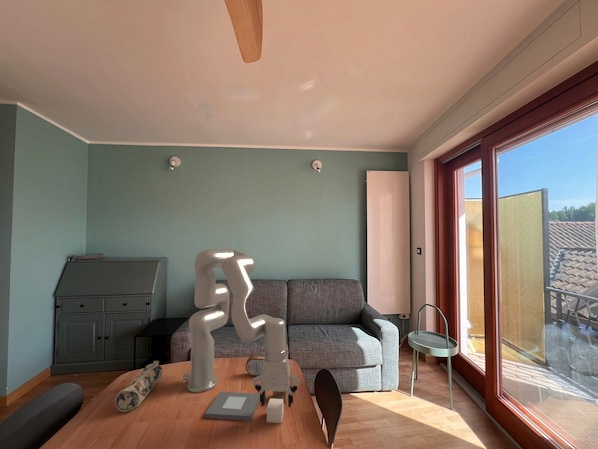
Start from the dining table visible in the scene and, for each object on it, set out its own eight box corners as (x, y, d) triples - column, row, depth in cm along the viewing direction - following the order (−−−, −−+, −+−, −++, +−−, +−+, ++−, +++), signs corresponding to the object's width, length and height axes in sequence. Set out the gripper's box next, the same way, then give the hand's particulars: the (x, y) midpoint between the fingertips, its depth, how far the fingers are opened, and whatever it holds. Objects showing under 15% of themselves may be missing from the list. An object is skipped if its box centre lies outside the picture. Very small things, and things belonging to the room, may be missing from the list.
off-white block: (266, 422, 88) (266, 407, 89) (270, 412, 93) (270, 398, 94) (281, 423, 88) (281, 408, 88) (283, 413, 93) (283, 399, 93)
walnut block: (273, 402, 99) (273, 389, 99) (275, 395, 104) (275, 382, 104) (285, 403, 98) (285, 390, 98) (287, 395, 103) (287, 383, 103)
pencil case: (143, 383, 113) (144, 360, 114) (163, 381, 114) (163, 359, 115) (112, 416, 92) (113, 388, 92) (136, 415, 92) (137, 387, 93)
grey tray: (204, 417, 91) (204, 412, 91) (220, 395, 104) (220, 391, 104) (251, 420, 89) (251, 415, 89) (260, 397, 102) (260, 393, 102)
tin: (278, 373, 120) (278, 355, 121) (277, 376, 117) (277, 358, 118) (246, 373, 121) (246, 354, 121) (244, 376, 118) (245, 358, 118)
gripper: (249, 359, 89) (249, 410, 88) (298, 359, 87) (299, 412, 86) (255, 350, 96) (255, 397, 95) (300, 350, 94) (301, 398, 93)
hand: (276, 404), depth 90 cm, fingers open, 9 cm apart
